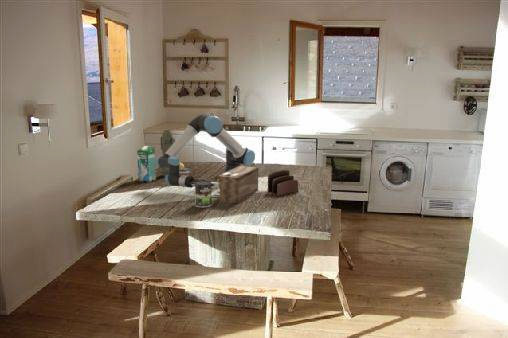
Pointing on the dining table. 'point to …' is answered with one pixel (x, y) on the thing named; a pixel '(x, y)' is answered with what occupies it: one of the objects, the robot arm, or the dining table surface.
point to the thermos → (166, 145)
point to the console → (238, 184)
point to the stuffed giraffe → (183, 168)
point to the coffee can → (203, 194)
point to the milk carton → (146, 163)
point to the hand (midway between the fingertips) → (218, 185)
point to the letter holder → (281, 183)
